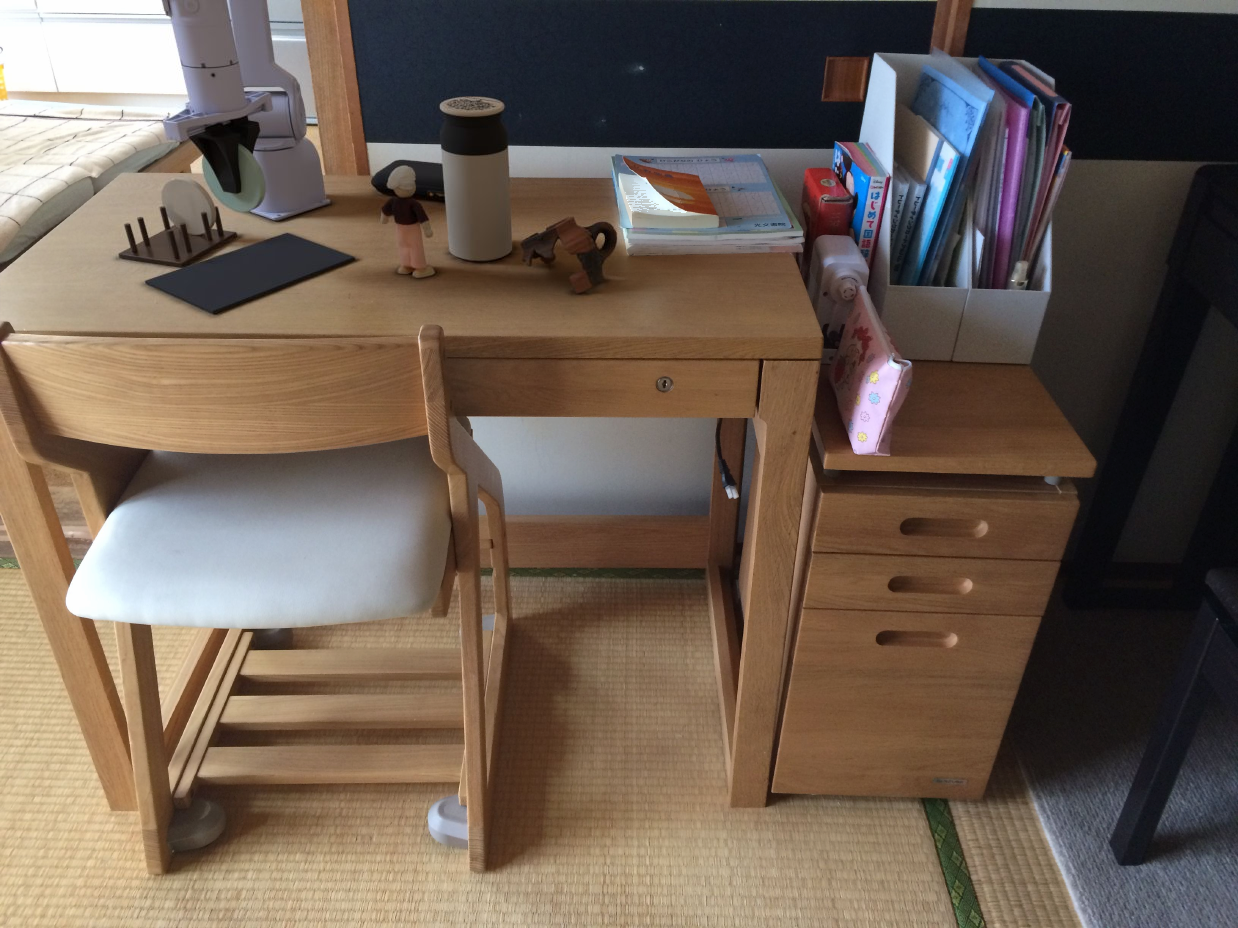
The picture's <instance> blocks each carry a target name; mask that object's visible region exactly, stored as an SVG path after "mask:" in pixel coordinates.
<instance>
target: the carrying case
mask: <svg viewBox="0 0 1238 928" xmlns="http://www.w3.org/2000/svg"><path fill="white" fill-rule="evenodd" d="M400 166H408V167H411V168H412V169H413V170H414V172H415V175H416V176H415V178H416V180H414V181H415V185H416V190H415V192H414V194H413V195H412V196H411V197H412V198H420V199H422V198H423V199H431V200H440V201H445V190H444V178H443V166H442V162H441V163H439V162H433V161H432V162H431V161H420V160H411V159H397V160H393V161H392V162H391V163H389V164H387V165H386V166H384V167H383V168H381V169H380V170H378V171H377V172H375V174H374V176H372V178H371V180H370V184H371V185H372V187H373V188H374V189H375V190H376V191H377V193H382V194H387V195H395V196H396V195H397V194H396V193H395V191H394V190H393V189H390V188H388V187H387V182H388V178H389V177H390V174H391V173H392V172H393V171H394V170H395V169H396V168H398V167H400ZM397 196H398V195H397Z"/></svg>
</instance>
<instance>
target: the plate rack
mask: <svg viewBox="0 0 1238 928" xmlns="http://www.w3.org/2000/svg"><path fill="white" fill-rule="evenodd" d="M215 209H216V221H215V227H216V228H211V229H210V225H209V221H208V217H207V213H206V212H201V217H202V221H203V226H204V230H205V233H203V234H200V235H192V234H189V233H188V232H187V228H186V224H185V223H180V224H179V225H180V229H179V228H178V227H177V226H175V225H174V224H173V225H171V224H170V219H169V218H168V216H167V212H166V208H165V207H164V206H163V205H161V206H159V212H160V217H161V219H162V223H163V227H164V229H163V230H162V231H159V232H157V233H155V234H154V235H152V236H150V237H149V234H148V230H147V227H146V223H145V218H144V217H143V216H139V217H137V218H136V220H137V224H138V228H139V232H140V234H141V238H142V241H140V242H138V243H136V239H135V235H134V232H133V228H132V225H131V223H128V222H126V223H124V224H123V225H124V230H125V233H126V237H127V240H128V241H127V242H128V244H129V247H127V249H125V250H123V251H121V252H118V258H119V259H122V260H130V261H136V262H144V263H149V264H156V265H162V266H169V267H176V268H184V267H187V266H189V265H191V263H193V262H195V261H197V260H198V259H200V258H202V257H204V256H205V255H207V254H209V253H211V252H212V251H214V250H216V249H217V248H219V247H221V246H223V245H224V244H226V243H228V242H230V241H232V240H234V239H235V238H236V237H238V233H237V231H231V230H224V228H223V222H222V219H221V214H220V210H219V206H217V205H215Z"/></svg>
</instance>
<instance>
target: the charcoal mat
mask: <svg viewBox="0 0 1238 928" xmlns="http://www.w3.org/2000/svg"><path fill="white" fill-rule="evenodd" d="M355 257H356V256H353V255H351V254H347V253H345V252H342V251H339V250H336V249H335V248H332V247H328V246H326V245H322V244H320V243H317V242H314V241H311V240H309V239H306V238H304V237H301V236H298V235H295V234H292V233H289V232H285V233H282V234H279V235H276V236H273V237H270V238H267V239H264V240H261V241H258V242H255V243H253V244H249V245H247V246H243V247H240V248H237V249H233V250H231V251H229V252H225V253H223V254H219V255H217V256H214V257H211V258H208V259H204V260H202V261H199V262H196V263H193V264H189V265H186V266H185V267H180V268H178V269H175V270H172V271H169V272H166V273H163V274H161V275H159V276H158V275H157V276H154V277H152V278H148V279H145V280H144V282H145V285H147V286H149V287H151V288H154V289H156V290H159V291H162V292H163V293H166V294H167V295H170V296H172V297H174V298H176V299H178V300H181V301H183V302H185V303H187V304H189V305H191V306H194V307H197V308H199V309H201V310H203V311H205V312H207V313H210V314H211V315H216V314H217V313H221V312H223V311H225V310H229V309H231V308H234V307H236V306H239V305H242V304H244V303H246V302H249V301H252V300H255V299H256V298H259V297H261V296H264V295H267V294H270V293H273V292H275V291H278V290H281V289H283V288H286V287H288V286H290V285H291V286H292V284H296V283H298V282H301V281H303V280H306V279H308V278H311V277H314V276H317V275H320V274H322V273H325V272H327V271H330V270H332V269H335V268H337V267H340V266H343V265H345V264H347V263H350V262H352V261H355V260H356V258H355Z"/></svg>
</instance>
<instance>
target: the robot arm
mask: <svg viewBox="0 0 1238 928" xmlns="http://www.w3.org/2000/svg"><path fill="white" fill-rule="evenodd" d="M161 4H162V8H163V11H164V13H165V16H166V17H169V18H170V22H171V26H172V31H173V36H174V39H175V44H176V48H177V53H178V57H179V62H180V65H181V70H182V75H183V79H184V84H185V88H186V92H187V96H188V102H185V104H184V106H185V108H184V109H183V110H181V111H179V112H178V113H176V114H174V115H172V116H171V117H168V118H166V119H163V120H162V126H163V129H164V133H165V137H166V140H169V141H175V142H181V143H182V142H185V141H187V140H188V139H189V140H190V141H191V142H192V143H193V144H194V146H195V147H196V148H197V149H198V150H199V152H201V154H202V156H203V155H204V157H205V158H206V160H207V161H208V163H209V165H210V166H211V168H212V170H213V172H214V174H215V176H216V177H217V179H218V182H219V184H220V186H221V188H222V190H223V192H228V193H234V194H238V193H241V178H240V172H239V165H238V147H239V144H241V145H242V146H244V147H245V148H246V149H247V150H249V151H250V153H251V154H252V155H253V156H254V157H255V159H256V160H257V162H258V163H259V165H260V167H261V169H262V172H263V175H264V178H265V184H266V192H265V197H264V200H263V202H262V203H261V204H260V206H259V207H257V208H256V209H253V210H251V211H249V213H252V214H255V215H258V216H260V217H264V218H266V219H270V220H272V221H280V220H283V219H286V218H289V217H292V216H296V215H299V214H302V213H305V212H307V211H311V210H314V209H317V208H320V207H324V206H326V205H329V204H331V200H330V199H328V198H327V195H326V188H325V182H324V177H323V169H322V163H321V158H320V154H319V152H318V150H317V147H316V146H315V144H314V143H313V142H312V141H311V140H310V139H309V138H308V137H306V135H307V132H308V131H307V129H308V126H307V124H308V123H307V114H306V108H305V103H304V99H303V96H302V90H301V84H300V83H299V81H298V79H297V78H296V77H295V76H294V75H293V74H292V73H290V72H289V71H287V70H286V69H285V68H283V67H281V66H280V65H279V64H278V63H277V62H276V60H275V52H274V45H273V36H272V28H271V22H270V15H269V5H268V0H161ZM245 88H281V89H282V90H245Z"/></svg>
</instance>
